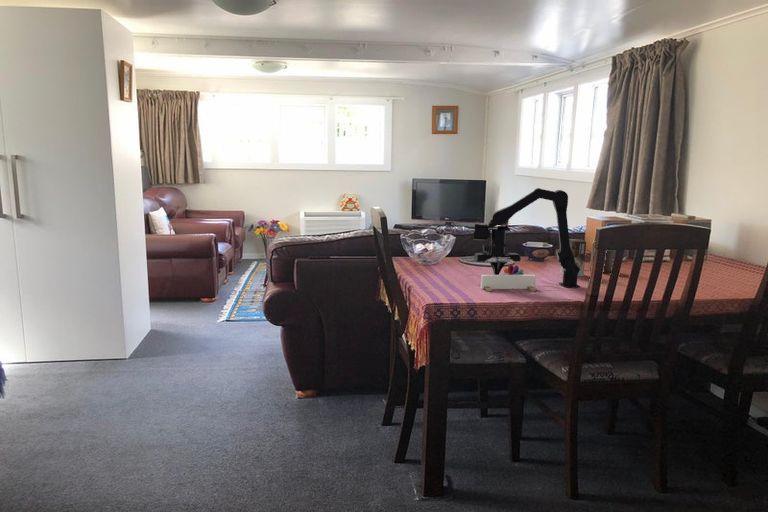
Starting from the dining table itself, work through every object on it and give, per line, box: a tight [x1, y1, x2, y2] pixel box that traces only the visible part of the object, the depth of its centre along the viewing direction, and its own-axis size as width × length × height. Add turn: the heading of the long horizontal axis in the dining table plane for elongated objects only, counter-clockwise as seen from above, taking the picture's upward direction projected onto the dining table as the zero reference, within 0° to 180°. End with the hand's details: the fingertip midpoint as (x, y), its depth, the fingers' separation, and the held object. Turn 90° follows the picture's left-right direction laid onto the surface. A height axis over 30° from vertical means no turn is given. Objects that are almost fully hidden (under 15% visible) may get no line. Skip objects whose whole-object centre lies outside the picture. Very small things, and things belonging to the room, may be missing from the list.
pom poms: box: [502, 264, 526, 275], centre depth 226 cm, size 8×10×7 cm
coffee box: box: [560, 238, 587, 277], centre depth 242 cm, size 9×6×16 cm
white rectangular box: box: [480, 274, 537, 292], centre depth 211 cm, size 6×22×6 cm, turn 97°
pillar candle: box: [589, 241, 614, 274], centre depth 252 cm, size 10×10×15 cm
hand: (496, 277), depth 226 cm, fingers closed
